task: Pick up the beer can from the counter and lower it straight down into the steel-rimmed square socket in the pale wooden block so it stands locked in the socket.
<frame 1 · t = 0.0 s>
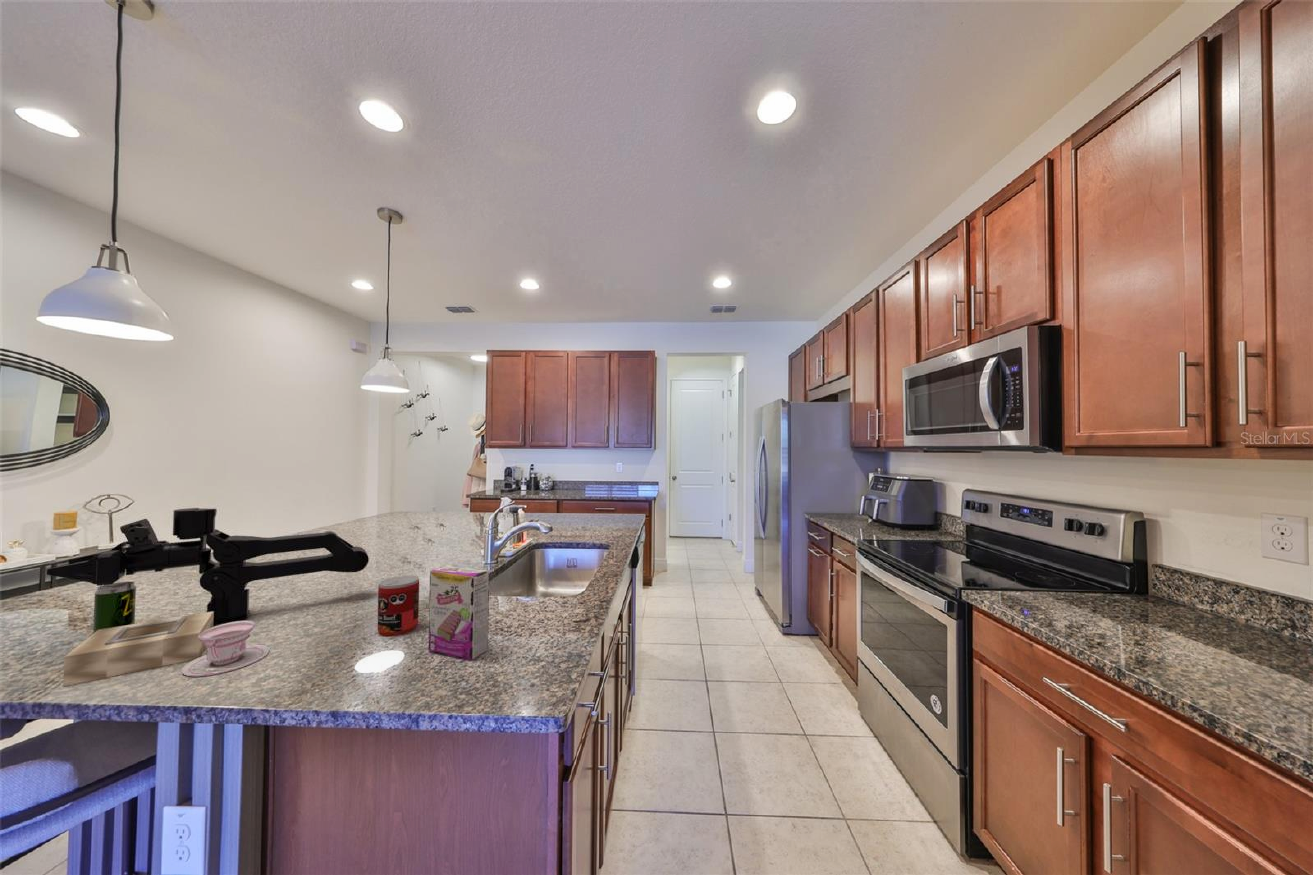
hand: (58, 566, 87), 17 cm above the counter, tool horizontal, fingers open, 9 cm apart
candy bar box: (458, 653, 86), on the counter
teacup: (227, 662, 82), on the counter
socket block: (147, 657, 84), on the counter
canned food: (398, 630, 97), on the counter
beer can: (113, 644, 90), on the counter
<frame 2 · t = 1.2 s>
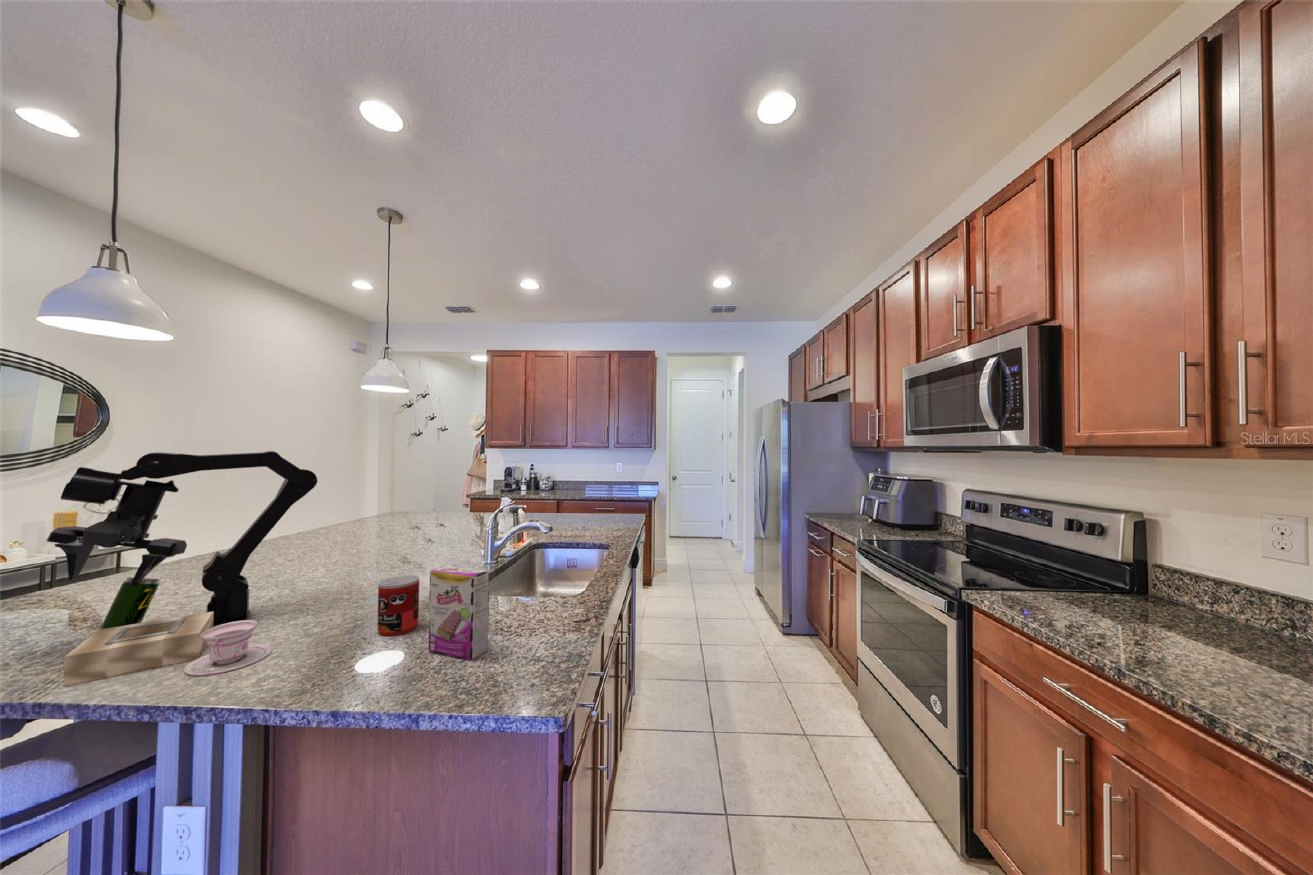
hand: (102, 583, 89), 13 cm above the counter, tool tilted 15°, fingers open, 9 cm apart
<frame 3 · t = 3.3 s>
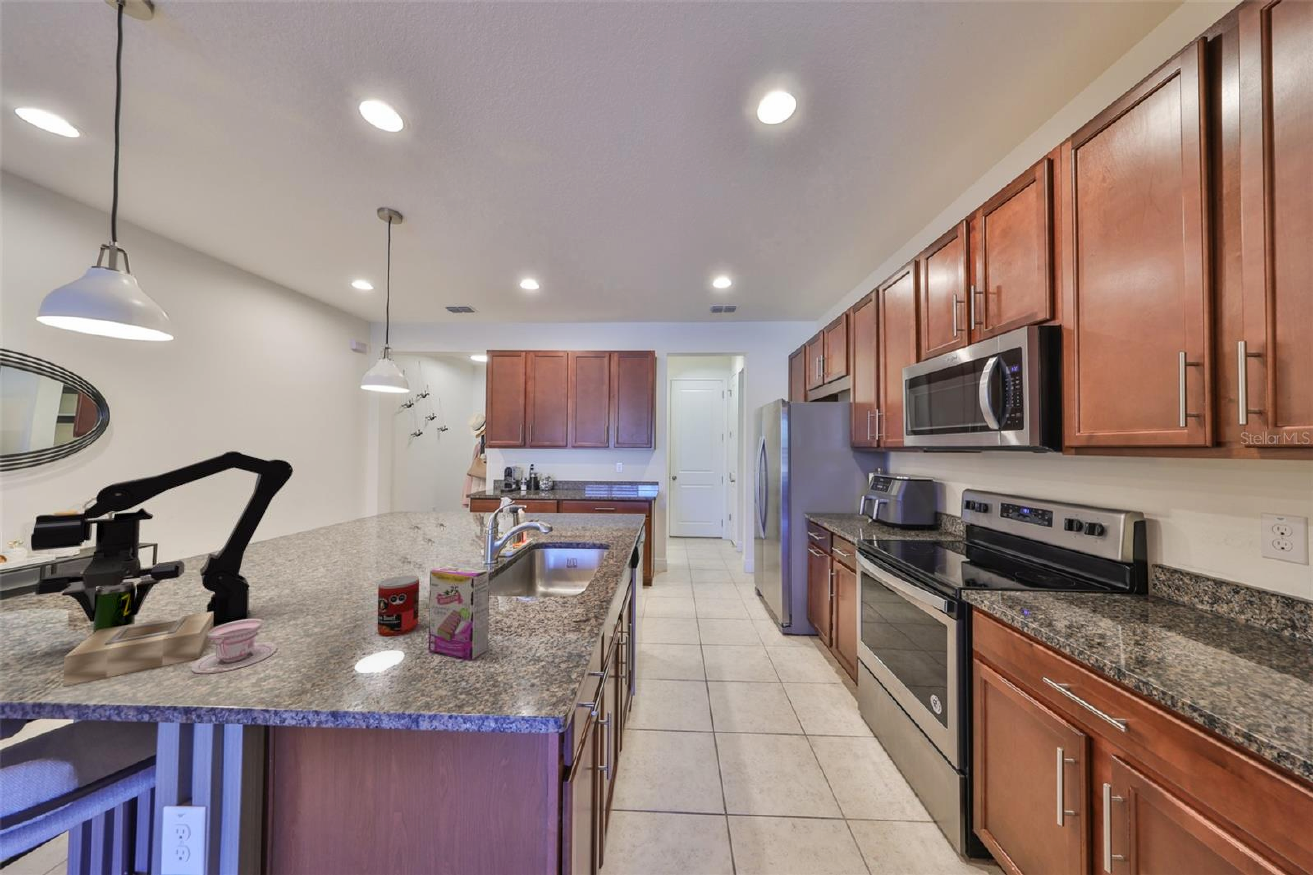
hand: (114, 617, 90), 5 cm above the counter, tool pointing down, fingers closed on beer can, 5 cm apart
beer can: (113, 644, 90), on the counter, touching gripper
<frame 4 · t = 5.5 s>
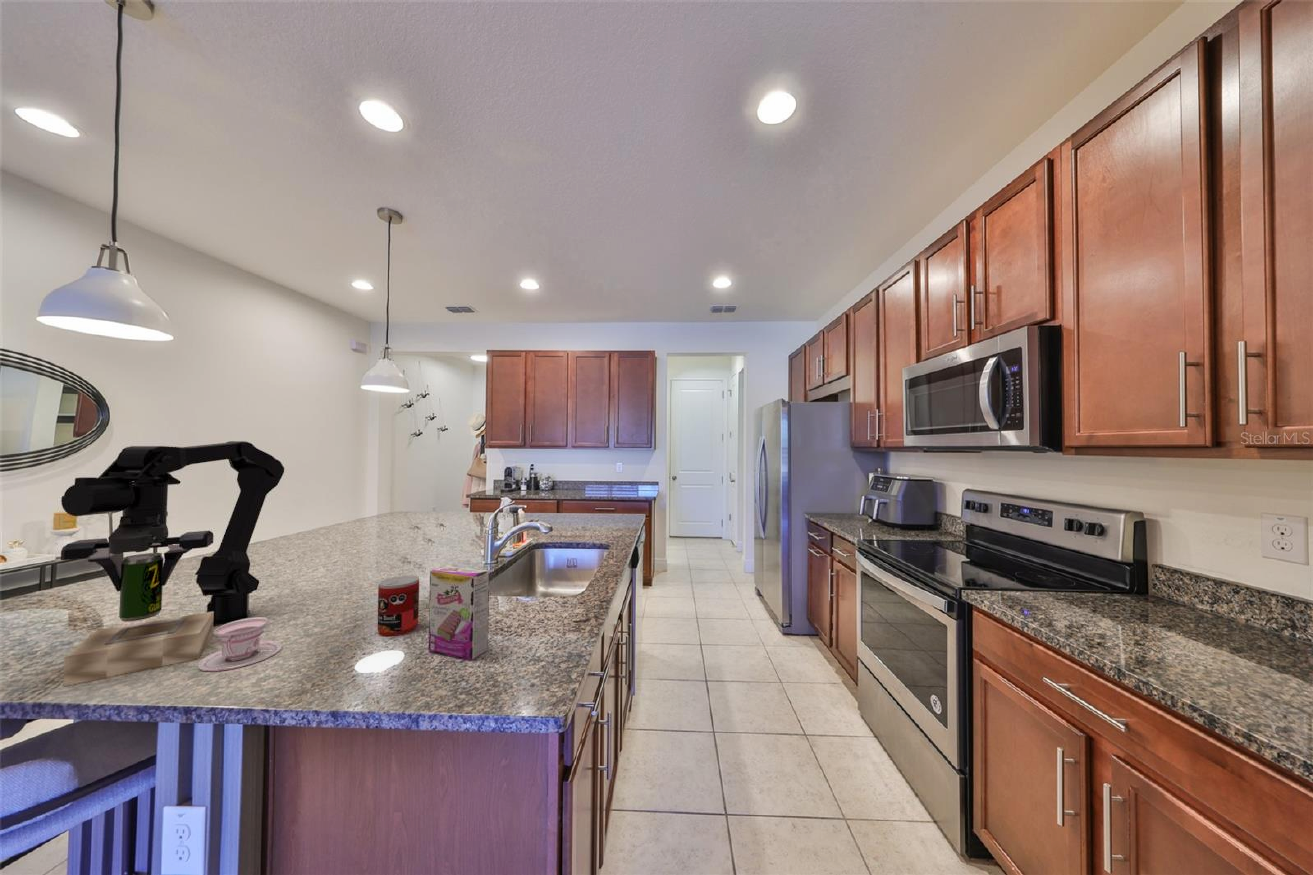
hand: (141, 588, 85), 13 cm above the counter, tool pointing down, fingers closed on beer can, 5 cm apart
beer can: (140, 617, 85), point 7 cm above the counter, touching gripper
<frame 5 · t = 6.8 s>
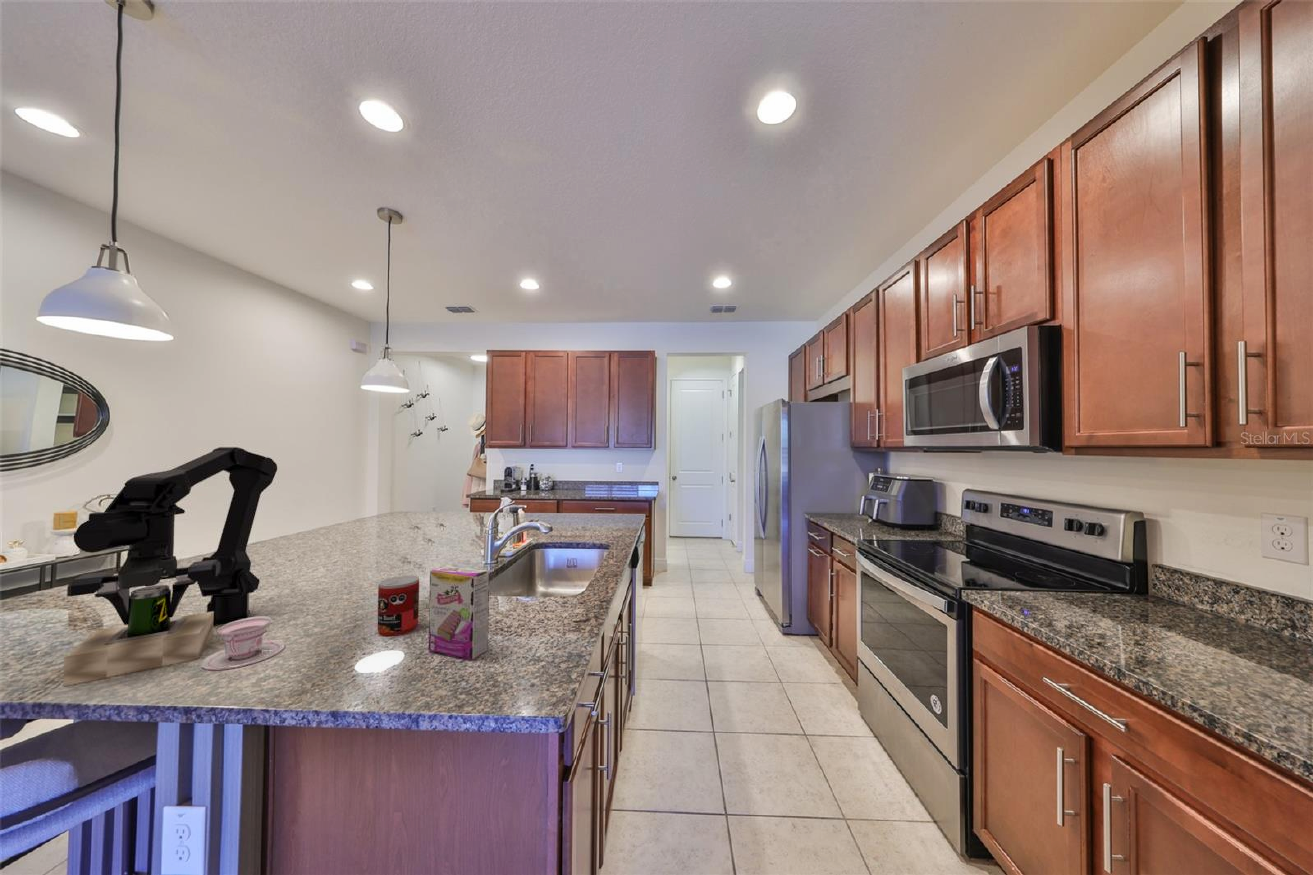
hand: (149, 620, 84), 7 cm above the counter, tool pointing down, fingers closed on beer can, 5 cm apart
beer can: (148, 652, 84), point 1 cm above the counter, touching gripper
when the fingers open (6 cm above the counter, at t = 7.8 s): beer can stays where it is, resting in socket block.
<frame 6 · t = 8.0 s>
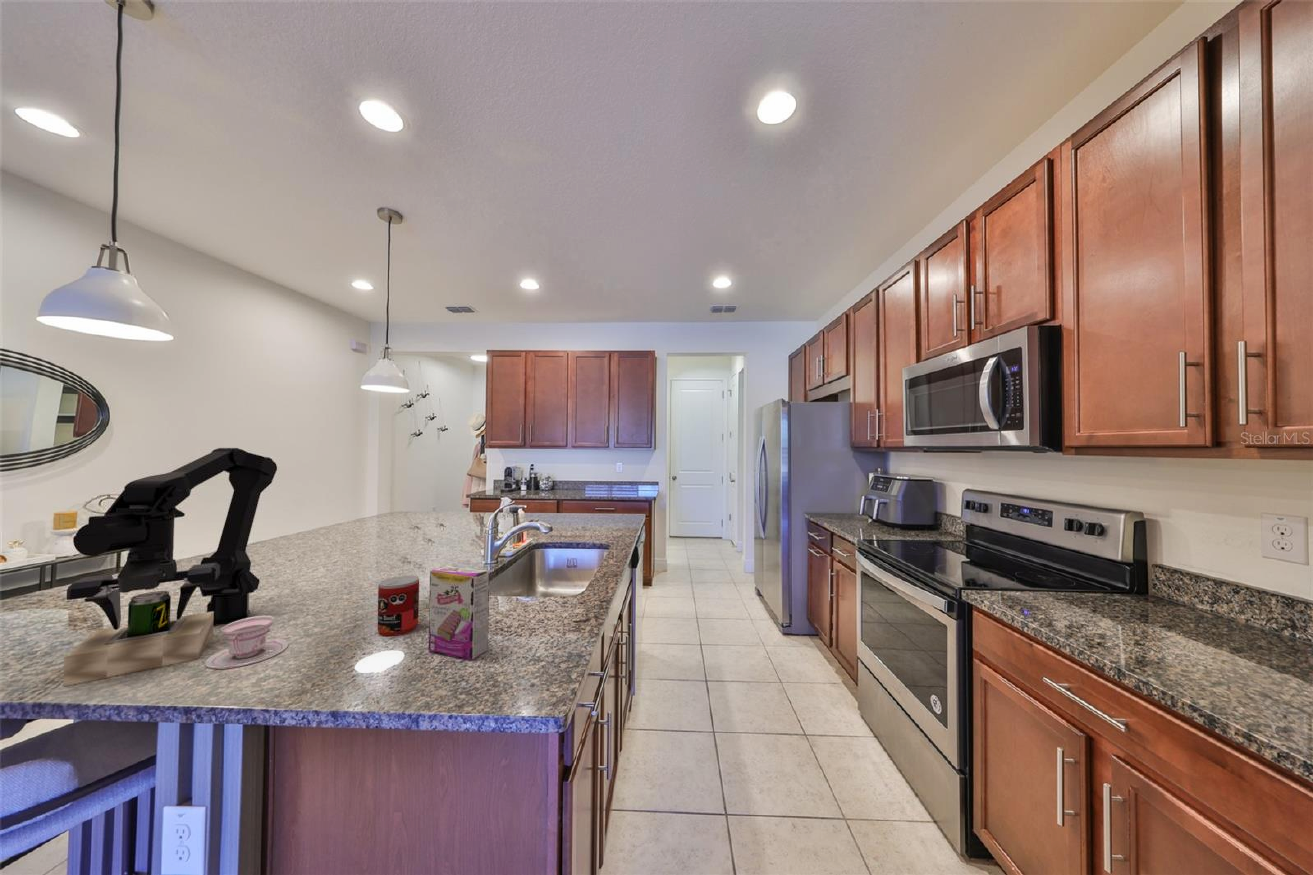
hand: (148, 624, 84), 6 cm above the counter, tool pointing down, fingers open, 8 cm apart
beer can: (148, 658, 84), resting in socket block
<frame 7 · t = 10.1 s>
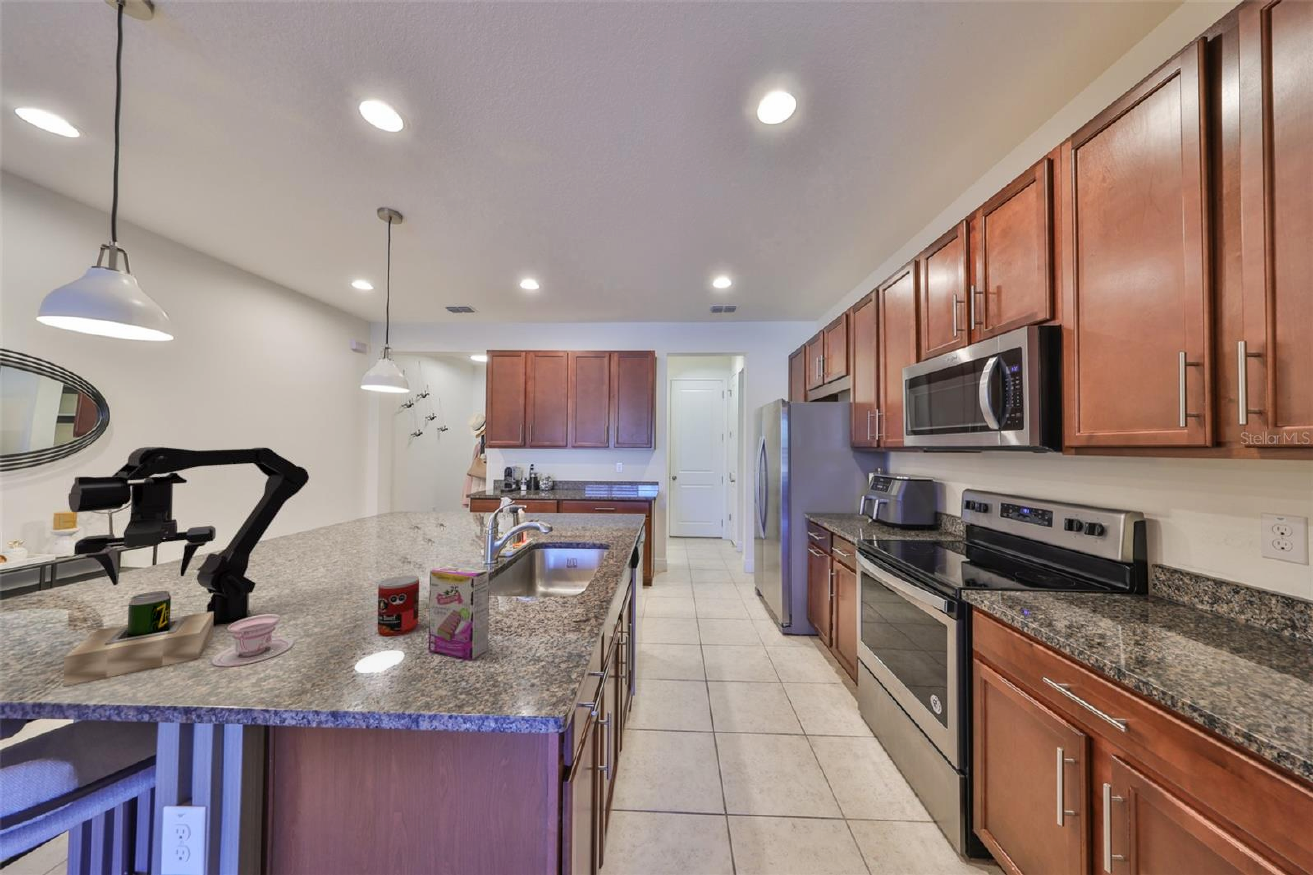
hand: (150, 580, 91), 13 cm above the counter, tool pointing down, fingers open, 9 cm apart
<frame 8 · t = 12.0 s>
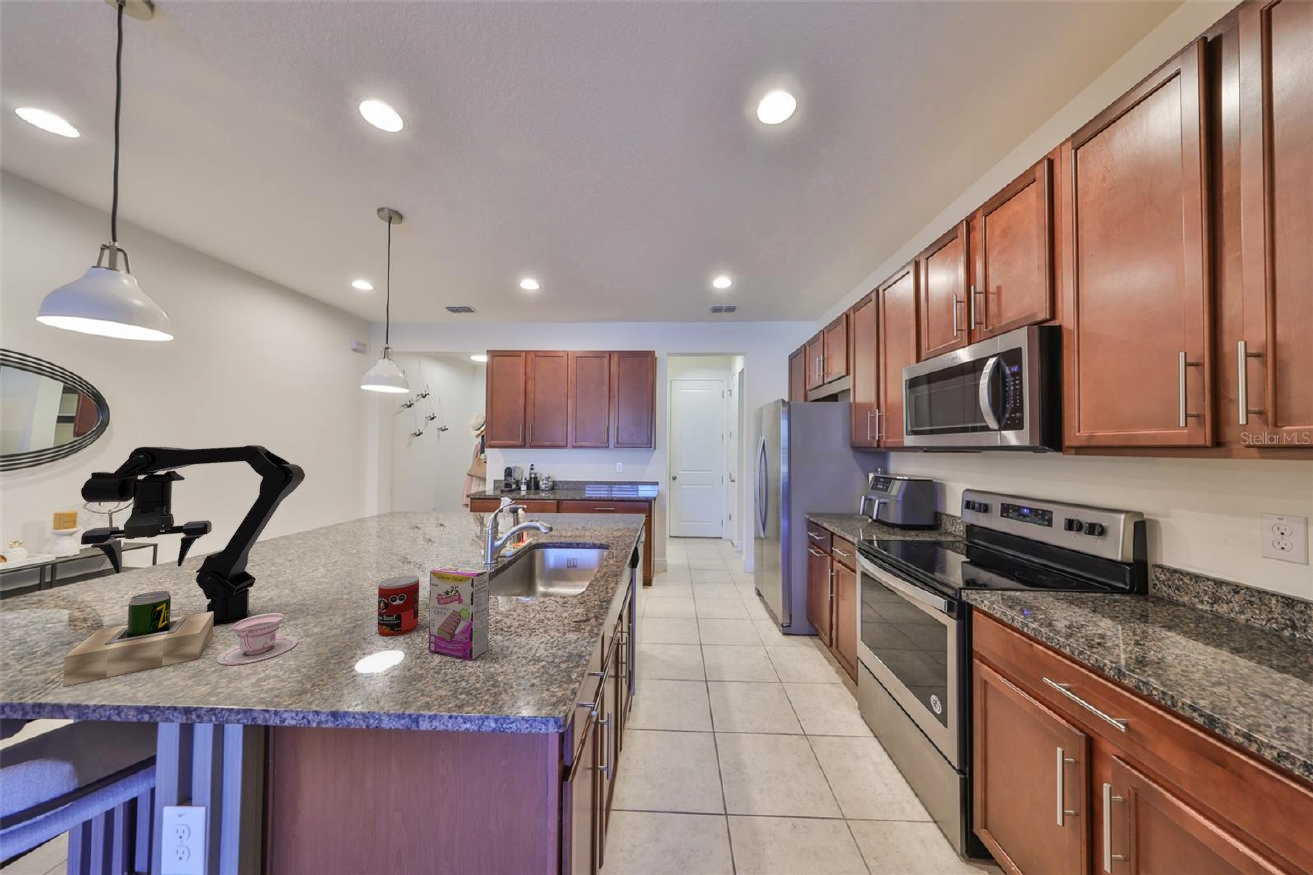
hand: (150, 569, 98), 13 cm above the counter, tool pointing down, fingers open, 9 cm apart
at the end: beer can 0.1 cm off-centre on the socket block, point 0.0 cm above the socket block's base; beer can tilted 0°; the gripper is holding nothing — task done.
